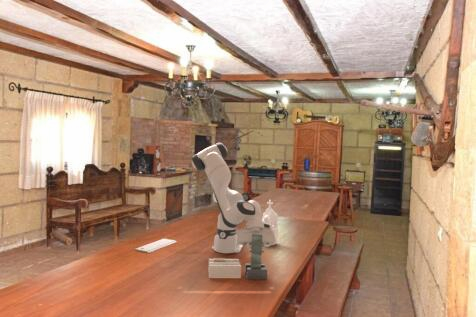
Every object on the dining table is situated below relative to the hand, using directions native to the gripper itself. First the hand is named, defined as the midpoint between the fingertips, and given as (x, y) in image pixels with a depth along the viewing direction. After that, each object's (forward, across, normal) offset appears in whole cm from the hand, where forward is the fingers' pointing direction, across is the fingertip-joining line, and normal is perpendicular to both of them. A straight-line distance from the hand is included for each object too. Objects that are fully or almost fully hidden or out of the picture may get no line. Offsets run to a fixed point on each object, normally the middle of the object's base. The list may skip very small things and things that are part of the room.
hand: (256, 251), depth 209 cm
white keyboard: (-31, -55, +52) cm, 82 cm away
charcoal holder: (+9, 0, +10) cm, 14 cm away
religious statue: (-37, +18, +58) cm, 71 cm away
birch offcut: (+5, -13, +13) cm, 19 cm away
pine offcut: (+5, -19, +13) cm, 23 cm away
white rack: (+7, -16, +12) cm, 21 cm away
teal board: (+8, 0, +8) cm, 11 cm away
